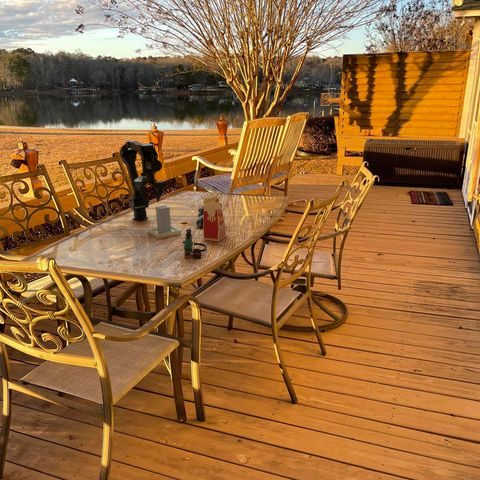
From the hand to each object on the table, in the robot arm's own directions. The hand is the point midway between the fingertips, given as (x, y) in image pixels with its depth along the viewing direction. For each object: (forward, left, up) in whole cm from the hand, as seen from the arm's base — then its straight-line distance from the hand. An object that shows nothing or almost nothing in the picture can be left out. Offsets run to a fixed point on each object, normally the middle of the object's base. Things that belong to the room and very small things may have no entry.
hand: (151, 200), depth 230 cm
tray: (+15, -8, -13) cm, 21 cm away
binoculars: (+48, -26, -13) cm, 56 cm away
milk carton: (+40, -2, -13) cm, 42 cm away
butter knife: (+42, -37, -14) cm, 58 cm away
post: (+15, -8, -13) cm, 21 cm away
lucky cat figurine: (+25, +14, -13) cm, 32 cm away
